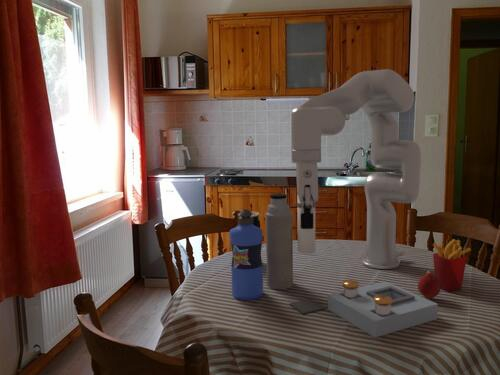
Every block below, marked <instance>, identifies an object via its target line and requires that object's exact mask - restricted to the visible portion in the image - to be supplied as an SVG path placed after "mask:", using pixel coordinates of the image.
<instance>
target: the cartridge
mask: <svg viewBox="0 0 500 375" xmlns="http://www.w3.org/2000/svg"><path fill="white" fill-rule="evenodd" d="M296 196H297V199H296V200H297V201H296V202H297V203H296V206H297V208H296V210H297V252H298V253H300V254H314V253H315V252H316V201H315V200H314V199H313V197H312V200H313V229H301V213H302V203H301V202H300V201H299V198H298V194H297V195H296ZM303 201H305V199H303ZM310 201H311V199H310Z"/></svg>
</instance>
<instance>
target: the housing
mask: <svg viewBox="0 0 500 375" xmlns="http://www.w3.org/2000/svg"><path fill="white" fill-rule="evenodd" d="M376 295H386V296H390V297H391V298H392V304H391V315H389V316H385V317H380V316H379V315H377V314H375V302H374V296H376ZM438 307H439V304H438V303H436V302H434V301H432V300H431V299H426V298H425V297H424V296H421V295H418V294H416V293H413V291H412V292H411V291H409V290H406V289H404V288H402V287H400V286H398V285H395V284H393V283H390V282H389V281H382V282H378V283H374V284H370V285H365V286H359V287H358V298H354V299H350V300H349V299H347V298H345V297H344V290H343V291H339V292H334V293H331V294H328V295H327V310H329V311H330V312H332V313H334V314H335V315H337V316H338V317H340V318H341V319H343V320H345V321H347V322H348V323H350V324H351V325H353V326H355V327H356V328H358V329H360V330H362V331H363V332H364V333H366V334H368V335H369V336H371V337H372V338H375V339H376V338H379V337H383V336H386V335H389V334H392V333H396V332H399V331H402V330H406V329H408V328H409V329H410V328H413V327H415V326H419V325H422V324H426V323H429V322H432V321H436V320H438V312H439V311H438V310H439V308H438Z"/></svg>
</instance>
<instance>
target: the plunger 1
mask: <svg viewBox="0 0 500 375" xmlns="http://www.w3.org/2000/svg"><path fill="white" fill-rule="evenodd" d="M341 283H342V287H343V291H344V297H345V298H347V299H349V300H350V299H354V298H358V288H360V282H359V281H357V280H355V279H345V280H343V281H342V282H341Z"/></svg>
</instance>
